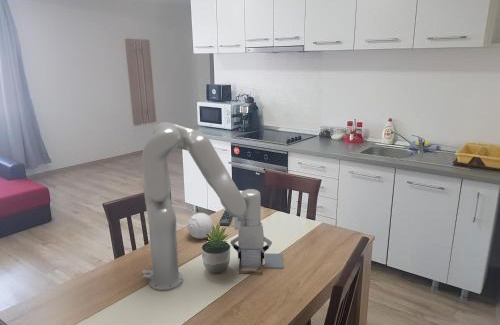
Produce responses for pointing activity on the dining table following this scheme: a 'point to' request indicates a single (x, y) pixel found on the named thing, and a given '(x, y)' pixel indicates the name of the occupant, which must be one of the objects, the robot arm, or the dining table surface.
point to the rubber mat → (274, 261)
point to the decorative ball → (200, 225)
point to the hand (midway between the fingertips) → (251, 259)
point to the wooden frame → (250, 272)
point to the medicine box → (250, 258)
